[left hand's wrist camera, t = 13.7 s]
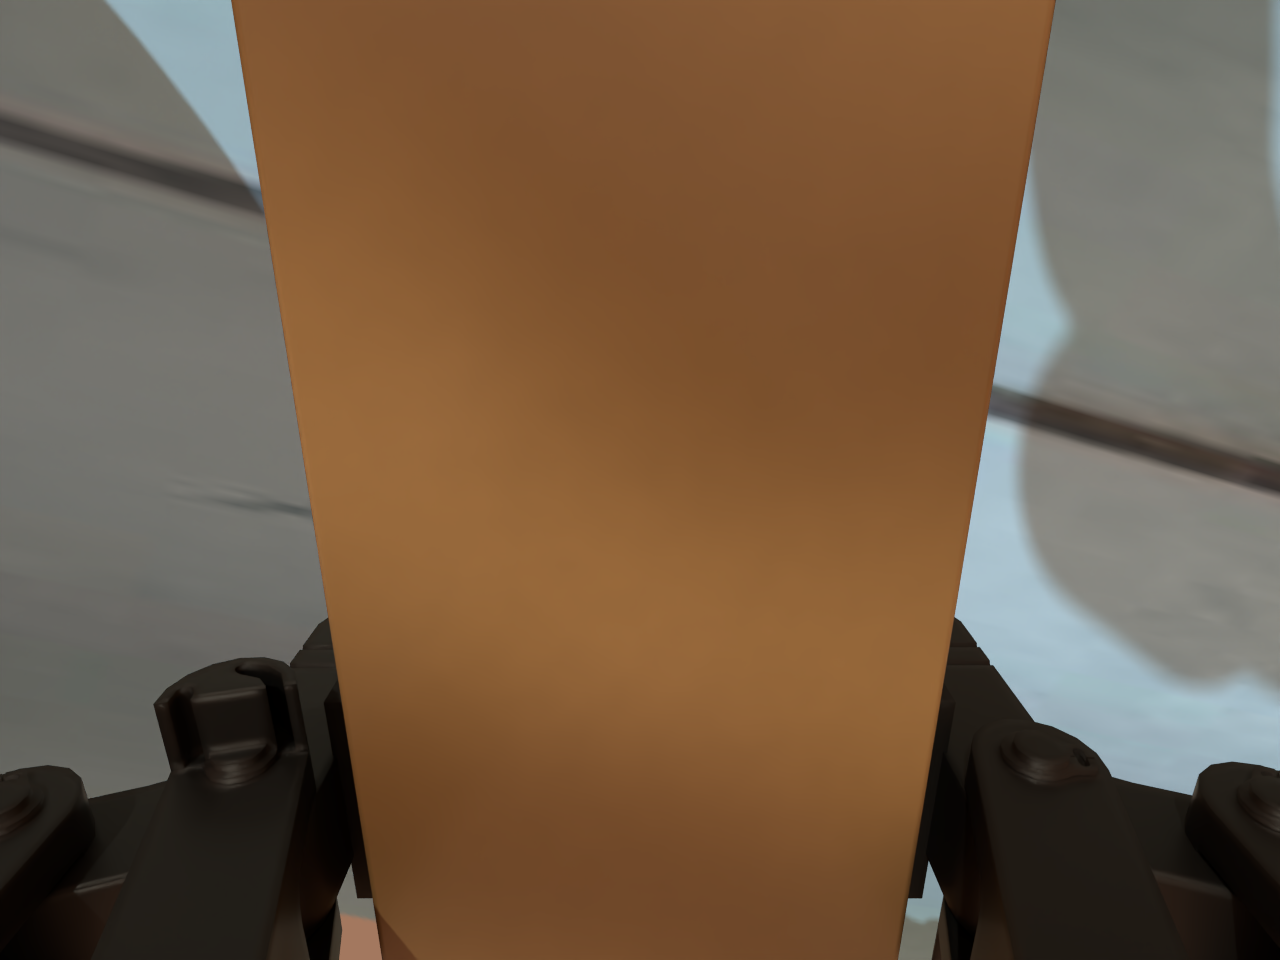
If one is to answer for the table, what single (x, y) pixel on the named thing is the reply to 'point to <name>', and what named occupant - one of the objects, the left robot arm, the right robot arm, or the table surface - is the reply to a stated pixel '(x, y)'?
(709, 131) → the bar
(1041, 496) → the table surface
